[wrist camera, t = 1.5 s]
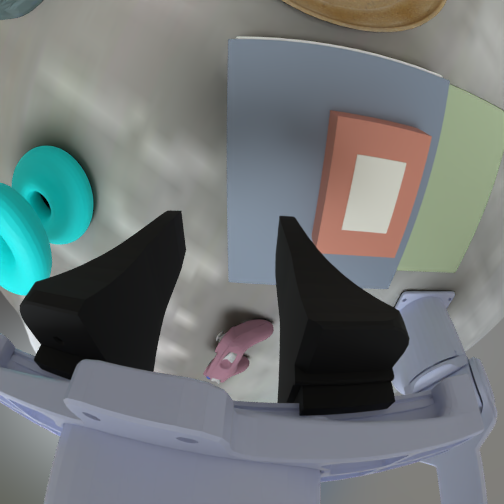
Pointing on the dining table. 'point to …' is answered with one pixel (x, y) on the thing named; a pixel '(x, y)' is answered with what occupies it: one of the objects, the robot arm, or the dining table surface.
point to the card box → (367, 185)
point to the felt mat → (456, 184)
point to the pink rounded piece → (236, 349)
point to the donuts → (40, 215)
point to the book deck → (309, 141)
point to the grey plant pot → (16, 8)
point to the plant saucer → (372, 13)
